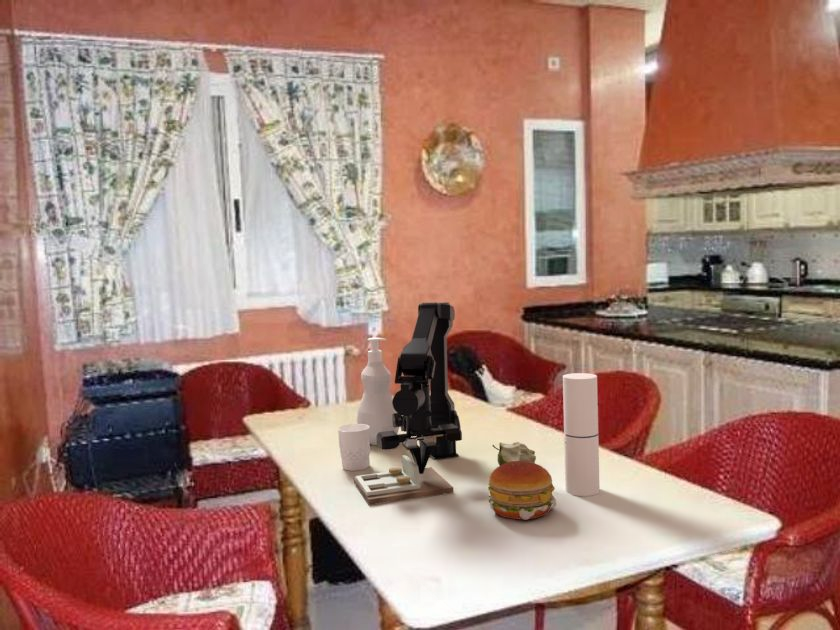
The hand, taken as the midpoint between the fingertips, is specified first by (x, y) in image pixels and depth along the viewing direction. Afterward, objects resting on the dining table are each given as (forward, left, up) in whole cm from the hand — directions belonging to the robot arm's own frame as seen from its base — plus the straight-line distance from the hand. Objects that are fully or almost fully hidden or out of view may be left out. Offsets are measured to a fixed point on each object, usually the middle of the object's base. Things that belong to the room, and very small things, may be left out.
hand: (420, 473), depth 162 cm
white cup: (+11, -20, -3) cm, 23 cm away
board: (+5, 0, -3) cm, 5 cm away
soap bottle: (0, -41, -3) cm, 41 cm away
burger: (-14, +24, -3) cm, 28 cm away
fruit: (-24, -2, -3) cm, 24 cm away
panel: (+8, 0, -1) cm, 8 cm away
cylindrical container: (-31, +18, -3) cm, 36 cm away
